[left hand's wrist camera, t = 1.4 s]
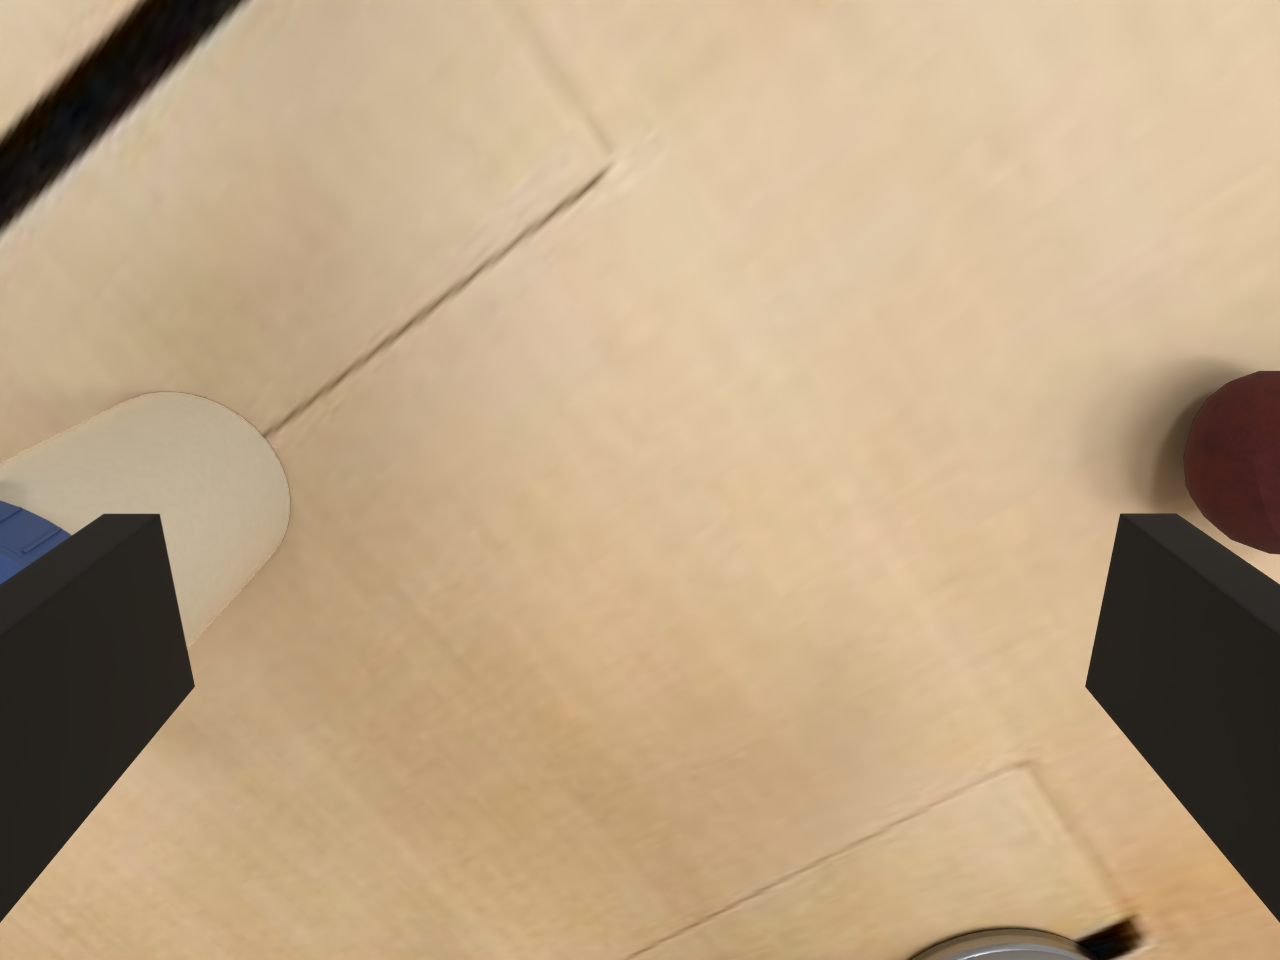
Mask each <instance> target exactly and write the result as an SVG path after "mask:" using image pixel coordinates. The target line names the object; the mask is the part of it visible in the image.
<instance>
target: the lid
mask: <svg viewBox="0 0 1280 960" xmlns="http://www.w3.org/2000/svg"><path fill="white" fill-rule="evenodd" d="M70 536H72V535H71V534H69V533H68V532H66V531H65V530H63V529H62V528H60V527H58V526H57V525H55V524H53V523H52V522H50V521H48V520H47V519H45V518H42V517H40V516H38V515H36V514H34V513H32V512H30V511H28V510H26V509H23V508H22V507H18V506H15V505H12V504H9V503H6V502H4V501H0V584H2V583H3V582H5V581H6V580H8V579H9V578H11V577H12V576H13V575H15V574H16V573H18V572H19V571H21V570H22V569H24V568H25V567H27V566H28V565H30V564H31V563H32V562H34V561H35V560H37V559H38V558H40V557H41V556H43V555H44V554H46V553H47V552H48V551H50V550H51V549H53V548H54V547H56V546H57V545H59V544H60V543H62V542H63V541H65V540H66V539H67V538H69V537H70Z"/></svg>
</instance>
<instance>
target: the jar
mask: <svg viewBox="0 0 1280 960" xmlns="http://www.w3.org/2000/svg"><path fill="white" fill-rule="evenodd" d="M0 501H4V502H6V503H9V504H12V505H15V506H18V507H22V508H23V509H26V510H28V511H30V512H32V513H34V514H36V515H38V516H40V517H42V518H45V519H47V520H48V521H50V522H52V523H53V524H55V525H57V526H58V527H60V528H62V529H63V530H65V531H66V532H68V533H69V534H71V535H73V534H75V533H76V532H78V531H79V530H81V529H82V528H83V527H85V526H86V525H88V524H89V523H91V522H92V521H94V520H95V519H97V518H98V517H100V516H101V515H102V514H160V517H161V522H162V527H163V532H164V537H165V542H166V547H167V552H168V557H169V562H170V567H171V572H172V577H173V582H174V587H175V591H176V596H177V601H178V606H179V611H180V616H181V621H182V626H183V631H184V636H185V641H186V646H187V650H188V649H189V648H190V647H191V646H192V645H193V643H194V642H195V641H196V640H197V639H198V638H199V637H200V636H201V635H202V633H203V632H204V631H205V630H206V629H207V628H208V627H209V626H210V625H211V623H212V622H213V621H214V620H215V619H216V618H217V617H218V616H219V614H220V613H221V612H222V611H223V610H224V609H225V608H226V607H227V606H228V604H229V603H230V602H231V601H232V600H233V599H234V598H235V597H236V596H237V594H238V593H239V592H240V591H241V590H242V589H243V588H244V587H245V586H246V584H247V583H248V582H249V581H250V580H251V579H252V578H253V577H254V575H255V574H256V573H257V572H258V571H259V570H260V569H261V568H262V567H263V565H264V564H265V563H266V562H267V561H268V560H269V559H270V558H271V557H272V555H273V554H274V553H275V551H276V550H277V548H278V547H279V546H280V544H281V542H282V540H283V538H284V536H285V533H286V529H287V526H288V522H289V516H290V494H289V487H288V483H287V480H286V476H285V473H284V471H283V468H282V466H281V463H280V461H279V460H278V458H277V456H276V454H275V453H274V451H273V449H272V448H271V447H270V445H269V444H268V442H267V441H266V440H265V438H264V437H263V436H262V435H261V434H260V433H259V432H258V431H257V430H256V429H255V428H254V427H253V426H252V425H251V424H249V423H248V422H247V421H246V420H245V419H244V418H242V417H241V416H239V415H238V414H236V413H235V412H233V411H232V410H230V409H228V408H226V407H224V406H222V405H221V404H219V403H216V402H214V401H211V400H209V399H206V398H203V397H199V396H195V395H192V394H186V393H179V392H156V393H147V394H144V395H140V396H136V397H133V398H131V399H128V400H126V401H123V402H121V403H119V404H117V405H115V406H113V407H111V408H109V409H107V410H105V411H103V412H101V413H99V414H97V415H95V416H93V417H91V418H89V419H87V420H85V421H83V422H81V423H79V424H77V425H75V426H73V427H71V428H69V429H67V430H65V431H63V432H61V433H59V434H57V435H55V436H52V437H50V438H48V439H46V440H44V441H42V442H40V443H38V444H36V445H34V446H32V447H30V448H28V449H26V450H24V451H22V452H20V453H18V454H16V455H14V456H12V457H10V458H8V459H6V460H4V461H2V462H0Z"/></svg>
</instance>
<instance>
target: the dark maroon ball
mask: <svg viewBox="0 0 1280 960" xmlns="http://www.w3.org/2000/svg"><path fill="white" fill-rule="evenodd" d="M1184 469H1185V482H1186V487H1187V489H1188V491H1189V493H1190V495H1191V497H1192V499H1193V500H1194V502H1195V503H1196V505H1197V507H1198V508H1199V510H1200V511H1201V513H1202V514H1203V516H1204V517H1205V518H1207V519H1208V520H1209V521H1210V522H1211V523H1212V524H1213V525H1214V526H1216V527H1217V528H1218V529H1219V530H1220V531H1222V532H1223V533H1224V534H1225V535H1226V536H1227V537H1229V538H1230V539H1231V540H1234V541H1236V542H1239V543H1242V544H1244V545H1247V546H1250V547H1252V548H1255V549H1258V550H1261V551H1264V552H1267V553H1269V554H1280V371H1258V372H1255V373H1253V374H1250V375H1247V376H1244V377H1241V378H1239V379H1236V380H1233V381H1231V382H1229V383H1227V384H1225V385H1224V386H1223V387H1221V388H1220V389H1219V390H1218V391H1217V392H1215V393H1214V394H1213V395H1212V396H1211V397H1209V398H1208V399H1207V400H1206V402H1205V403H1204V405H1203V406H1202V408H1201V409H1200V411H1199V412H1198V414H1197V415H1196V417H1195V418H1194V420H1193V424H1192V427H1191V431H1190V434H1189V438H1188V441H1187V445H1186V449H1185V453H1184Z"/></svg>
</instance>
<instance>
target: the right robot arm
mask: <svg viewBox="0 0 1280 960" xmlns="http://www.w3.org/2000/svg"><path fill="white" fill-rule="evenodd" d="M912 960H1101V959H1100V958H1099V957H1097V956H1096V955H1095V954H1094V953H1092V952H1091V951H1089V950H1088V949H1086V948H1085V947H1083V946H1081V945H1079V944H1077V943H1075V942H1073V941H1071V940H1069V939H1066V938H1063V937H1061V936H1057V935H1053V934H1050V933H1045V932H1040V931H1033V930H1023V929H1002V930H991V931H983V932H978V933H973V934H969V935H965V936H961V937H958V938H955V939H952V940H949V941H946V942H944V943H941V944H939V945H937V946H934V947H932V948H931V949H929V950H927V951H925V952H923V953H921V954H920V955H918V956H917V957H915V958H913V959H912Z"/></svg>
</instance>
